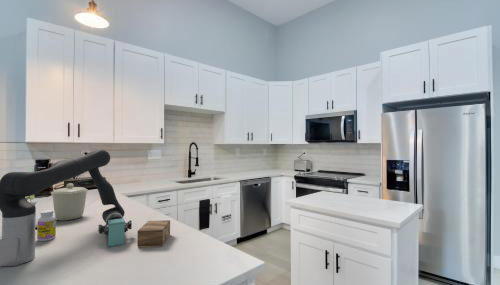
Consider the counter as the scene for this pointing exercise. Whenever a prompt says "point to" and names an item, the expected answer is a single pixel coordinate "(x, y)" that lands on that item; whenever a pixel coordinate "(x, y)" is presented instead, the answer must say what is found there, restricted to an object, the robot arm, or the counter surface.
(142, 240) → the wooden crate
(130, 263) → the counter surface
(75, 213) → the canister
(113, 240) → the teal lidded bin
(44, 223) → the supplement bottle
